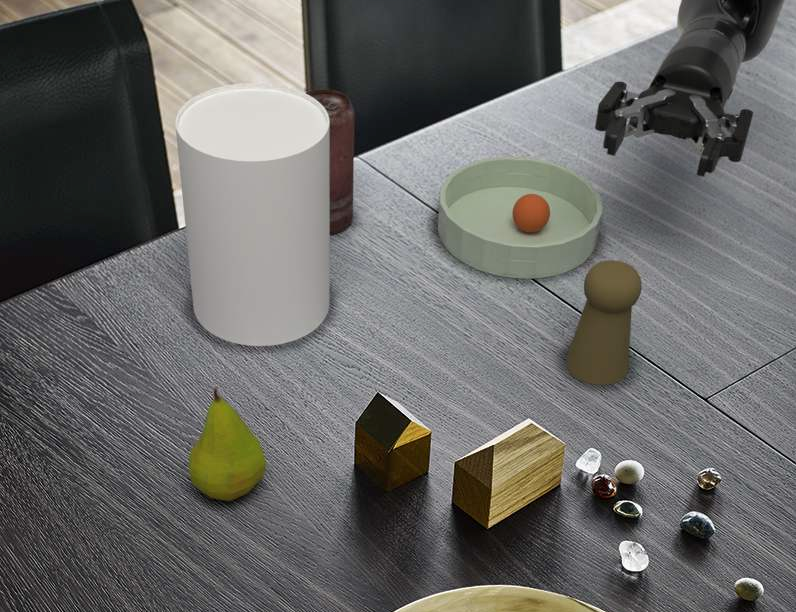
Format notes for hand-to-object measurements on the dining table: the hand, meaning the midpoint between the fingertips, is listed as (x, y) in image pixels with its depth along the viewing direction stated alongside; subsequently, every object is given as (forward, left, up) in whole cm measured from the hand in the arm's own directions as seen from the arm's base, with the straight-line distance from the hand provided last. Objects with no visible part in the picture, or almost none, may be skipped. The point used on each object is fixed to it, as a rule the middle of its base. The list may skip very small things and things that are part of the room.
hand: (656, 156), depth 116 cm
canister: (+37, +3, -17) cm, 41 cm away
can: (+32, -12, -17) cm, 38 cm away
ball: (+9, -12, -14) cm, 21 cm away
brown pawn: (+4, +10, -17) cm, 20 cm away
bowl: (+11, -12, -17) cm, 23 cm away
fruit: (+37, +29, -17) cm, 50 cm away
